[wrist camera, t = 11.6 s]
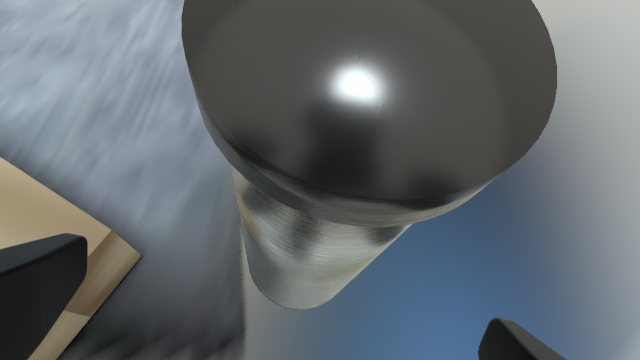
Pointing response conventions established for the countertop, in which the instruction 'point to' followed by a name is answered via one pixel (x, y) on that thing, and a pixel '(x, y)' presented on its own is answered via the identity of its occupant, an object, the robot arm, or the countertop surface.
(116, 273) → the housing
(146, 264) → the countertop surface
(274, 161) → the capped cylinder
